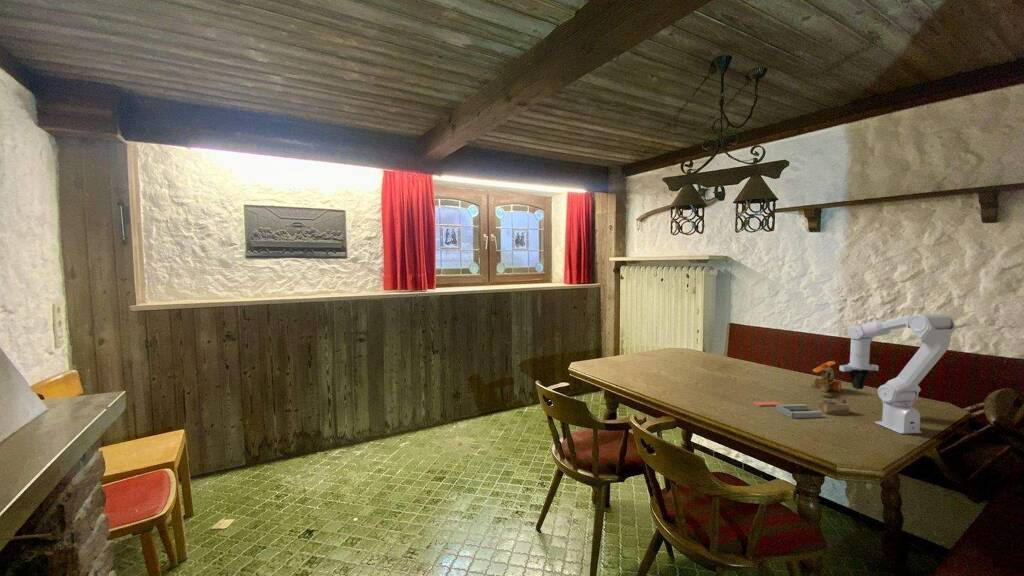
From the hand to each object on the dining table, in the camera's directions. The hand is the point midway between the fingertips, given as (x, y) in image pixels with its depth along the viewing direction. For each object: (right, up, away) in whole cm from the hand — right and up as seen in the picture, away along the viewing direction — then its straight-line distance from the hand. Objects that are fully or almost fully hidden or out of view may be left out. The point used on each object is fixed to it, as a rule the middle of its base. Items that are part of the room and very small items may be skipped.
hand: (857, 388), depth 158 cm
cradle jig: (-24, -10, -1) cm, 25 cm away
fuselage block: (-10, -10, 0) cm, 14 cm away
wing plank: (-30, -10, +9) cm, 33 cm away
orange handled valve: (+5, -8, +24) cm, 26 cm away
